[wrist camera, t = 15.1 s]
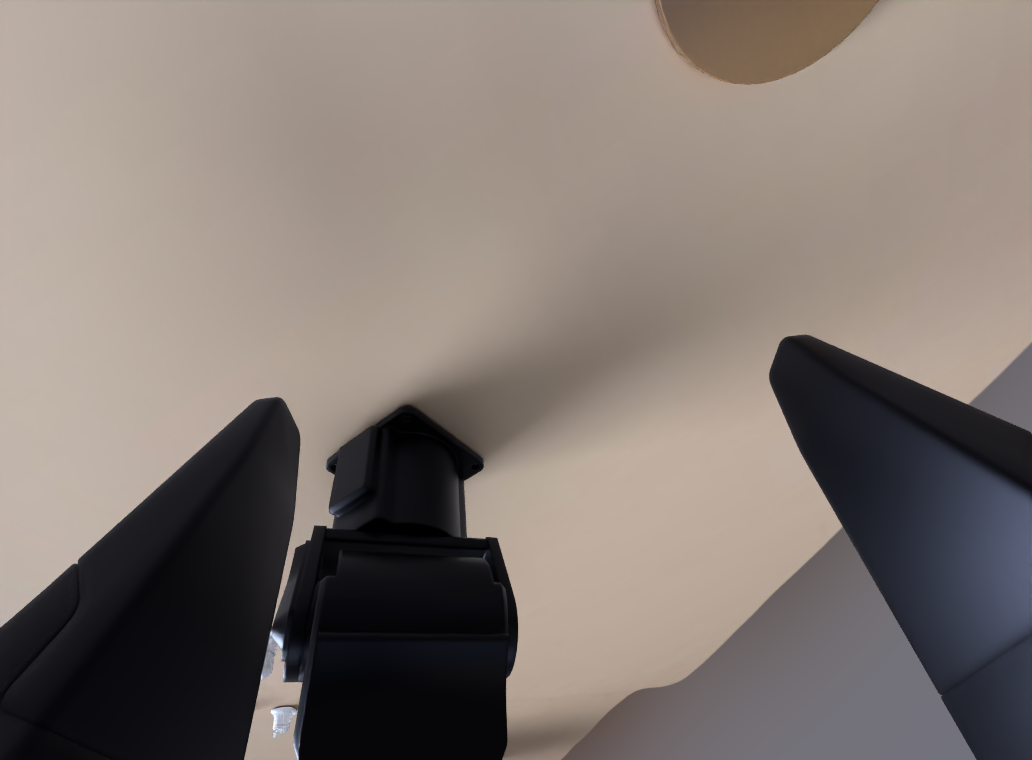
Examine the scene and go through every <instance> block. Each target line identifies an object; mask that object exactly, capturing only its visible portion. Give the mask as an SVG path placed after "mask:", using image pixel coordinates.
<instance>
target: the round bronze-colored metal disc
mask: <svg viewBox="0 0 1032 760" xmlns="http://www.w3.org/2000/svg"><path fill="white" fill-rule="evenodd" d="M878 1H879V0H655V2H656V6H657V10H658V13H659V16H660V19H661V21H662V24H663V27H664V29H665V31H666V33H667V35H668V36H669V38H670V40H671V42H672V43H673V45H674V46H675V47H676V49H677V50H678V51H679V53H680V54H681V55H682V56H683V57H684V58H685V59H686V60H687V61H688V62H689V63H690V64H691V65H692V66H694V67H695V68H697V69H698V70H700V71H701V72H703V73H705V74H707V75H709V76H712V77H714V78H716V79H719V80H721V81H725V82H730V83H734V84H759V83H766V82H770V81H774V80H778V79H781V78H783V77H786V76H789V75H791V74H794V73H796V72H798V71H800V70H802V69H804V68H806V67H807V66H809V65H811V64H813V63H814V62H816V61H817V60H819V59H820V58H822V57H823V56H825V55H826V54H827V53H829V52H830V51H831V50H832V49H834V48H835V47H836V46H837V45H838V44H840V43H841V42H842V41H843V40H844V39H845V38H846V37H847V36H848V35H849V34H850V33H851V32H852V31H853V30H854V29H855V28H856V27H857V26H858V25H859V24H860V23H861V22H862V21H863V19H864V18H865V17H866V16H867V15H868V14H869V13H870V11H871V10H872V9H873V7H874V6H875V5H876V3H877V2H878Z"/></svg>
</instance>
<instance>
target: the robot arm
mask: <svg viewBox="0 0 1032 760" xmlns="http://www.w3.org/2000/svg"><path fill="white" fill-rule="evenodd" d="M769 380H770V384H771V386H772V389H773V391H774V393H775V396H776V398H777V400H778V403H779V405H780V407H781V409H782V412H783V414H784V416H785V419H786V421H787V423H788V426H789V428H790V430H791V433H792V435H793V437H794V439H795V442H796V444H797V446H798V448H799V450H800V452H801V454H802V456H803V458H804V460H805V461H806V463H807V465H808V467H809V468H810V470H811V472H812V474H813V475H814V477H815V479H816V481H817V482H818V484H819V486H820V488H821V489H822V491H823V493H824V495H825V496H826V498H827V500H828V501H829V503H830V505H831V507H832V508H833V510H834V512H835V514H836V515H837V517H838V519H839V521H840V522H841V524H842V526H843V528H844V529H845V531H846V533H847V534H848V536H849V538H850V540H851V541H852V543H853V545H854V547H855V548H856V550H857V552H858V554H859V555H860V557H861V559H862V561H863V562H864V564H865V566H866V567H867V569H868V571H869V573H870V575H871V576H872V578H873V580H874V581H875V583H876V585H877V587H878V588H879V590H880V592H881V594H882V595H883V597H884V599H885V601H886V602H887V604H888V606H889V607H890V609H891V611H892V613H893V615H894V616H895V618H896V620H897V621H898V623H899V625H900V627H901V628H902V630H903V632H904V633H905V635H906V637H907V639H908V641H909V642H910V644H911V646H912V648H913V649H914V651H915V653H916V654H917V656H918V658H919V659H920V661H921V663H922V665H923V666H924V668H925V670H926V672H927V673H928V675H929V677H930V679H931V681H932V682H933V684H934V685H935V687H936V689H937V691H938V693H939V694H940V695H942V696H941V698H942V700H943V702H944V704H945V705H946V707H947V709H948V711H949V713H950V714H951V716H952V718H953V719H954V721H955V723H956V725H957V726H958V728H959V730H960V732H961V733H962V735H963V737H964V739H965V740H966V742H967V744H968V746H969V747H970V749H971V751H972V752H973V754H974V756H975V758H976V759H977V760H1032V434H1031V433H1030V432H1029V431H1027V430H1025V429H1022V428H1020V427H1018V426H1016V425H1013V424H1011V423H1009V422H1006V421H1004V420H1002V419H1000V418H997V417H995V416H993V415H990V414H988V413H986V412H983V411H981V410H979V409H977V408H974V407H972V406H970V405H968V404H965V403H963V402H961V401H958V400H956V399H954V398H952V397H949V396H947V395H945V394H942V393H940V392H938V391H936V390H933V389H931V388H929V387H926V386H924V385H922V384H920V383H917V382H915V381H913V380H910V379H908V378H906V377H904V376H901V375H899V374H897V373H894V372H892V371H890V370H888V369H885V368H883V367H881V366H878V365H876V364H874V363H872V362H869V361H867V360H865V359H862V358H860V357H858V356H856V355H853V354H851V353H849V352H846V351H844V350H842V349H840V348H837V347H835V346H833V345H830V344H828V343H826V342H824V341H821V340H819V339H817V338H814V337H812V336H810V335H796V336H788V337H785V338H784V339H783V340H782V341H781V342H780V344H779V347H778V349H777V352H776V355H775V358H774V360H773V363H772V366H771V369H770V373H769ZM404 415H410V416H404ZM299 452H300V434H299V430H298V428H297V425H296V423H295V421H294V419H293V417H292V415H291V413H290V411H289V409H288V407H287V405H286V403H285V401H284V400H283V399H281V398H279V397H274V398H265V399H259V400H256V401H254V402H253V403H252V404H250V405H249V406H248V407H247V408H246V409H245V410H244V411H243V412H242V413H240V414H239V415H238V416H237V417H236V418H235V419H234V420H233V421H232V422H230V423H229V424H228V425H227V426H226V427H225V428H224V429H223V430H222V431H220V432H219V433H218V434H217V435H216V436H215V437H214V438H213V439H212V440H210V441H209V442H208V443H207V444H206V445H205V446H204V447H203V448H202V449H200V450H199V451H198V452H197V453H196V454H195V455H194V456H193V457H192V458H190V459H189V460H188V461H187V462H186V463H185V464H184V465H183V466H182V467H180V468H179V469H178V470H177V471H176V472H175V473H174V474H173V475H172V476H170V477H169V478H168V479H167V480H166V481H165V482H164V483H163V484H162V485H160V486H159V487H158V488H157V489H156V490H155V491H154V492H153V493H152V494H151V495H149V496H148V497H147V498H146V499H145V500H144V501H143V502H142V503H141V504H139V505H138V506H137V507H136V508H135V509H134V510H133V511H132V512H131V513H129V514H128V515H127V516H126V517H125V518H124V519H123V520H122V521H121V522H119V523H118V524H117V525H116V526H115V527H114V528H113V529H112V530H110V531H109V532H108V533H107V534H106V535H105V536H104V537H103V538H102V539H100V540H99V541H98V542H97V543H96V544H95V545H94V546H93V547H92V548H90V549H89V550H88V551H87V552H86V553H85V554H84V555H83V556H82V557H80V558H79V560H78V564H73V565H71V566H70V567H69V568H68V569H67V570H66V571H65V572H64V573H63V574H61V575H60V576H59V577H58V578H57V579H56V580H55V581H54V582H53V583H51V584H50V585H49V586H48V587H47V588H46V589H45V590H43V591H42V592H41V593H40V594H39V595H38V596H37V597H35V598H34V599H33V600H32V601H31V602H30V603H29V604H27V605H26V606H25V607H24V608H23V609H22V610H21V611H19V612H18V613H17V614H16V615H15V616H14V617H13V618H11V619H10V620H9V621H8V622H7V623H5V624H4V625H3V626H2V627H1V628H0V760H244V757H245V752H246V747H247V742H248V738H249V733H250V728H251V723H252V718H253V714H254V709H255V704H256V699H257V694H258V690H259V685H260V680H261V675H262V670H263V666H264V661H265V656H266V651H267V646H268V642H269V637H270V632H271V627H272V622H273V618H274V613H275V608H276V603H277V598H278V594H279V589H280V584H281V579H282V574H283V570H284V565H285V560H286V555H287V550H288V546H289V541H290V536H291V531H292V526H293V520H294V511H295V501H296V489H297V477H298V464H299ZM334 464H336V465H334ZM483 467H484V464H483V459H482V458H481V457H480V456H478V455H477V454H476V453H474V452H473V451H472V450H470V449H469V448H468V447H466V446H465V445H464V444H462V443H461V442H460V441H458V440H457V439H455V438H454V437H453V436H451V435H450V434H449V433H447V432H446V431H445V430H443V429H442V428H441V427H439V426H438V425H437V424H435V423H434V422H432V421H431V420H430V419H428V418H427V417H426V416H424V415H423V414H422V413H420V412H419V411H418V410H416V409H415V408H413V407H411V406H404V407H401V408H400V409H398V410H397V411H395V412H394V413H393V414H391V415H390V416H388V417H387V418H385V419H384V420H382V421H381V422H380V423H378V424H377V425H375V426H372V427H370V428H368V429H367V430H365V431H364V432H363V433H361V434H360V435H358V436H357V437H355V438H354V439H353V440H351V441H350V442H348V443H347V444H345V445H344V446H343V447H341V448H340V451H338V452H337V453H335V454H334V455H332V456H331V457H330V458H328V460H327V464H326V469H327V470H328V471H329V472H331V473H333V474H334V475H335V477H334V482H333V487H332V493H331V498H330V503H329V513H331V514H333V515H335V516H334V522H333V528H332V529H329V528H327V526H314V529H313V533H312V537H311V541H309V540H306V543H305V544H303V545H301V546H299V547H297V548H296V549H295V553H294V558H293V562H292V566H291V570H290V575H289V578H288V582H287V585H286V588H285V591H284V594H283V597H282V600H281V602H280V605H279V608H278V611H277V614H276V617H275V620H274V623H273V628H272V633H271V637H272V638H273V639H274V641H275V642H276V643H277V645H278V646H279V647H280V649H281V650H282V654H281V661H285V666H284V673H283V682H303V684H302V689H301V695H300V701H299V707H298V713H297V719H296V725H295V731H294V740H293V744H294V749H295V752H296V755H297V758H298V760H502V758H503V755H504V753H505V750H506V747H507V715H506V678H507V677H508V676H509V675H510V673H511V671H512V669H513V666H514V662H515V657H516V652H517V643H518V616H517V607H516V602H515V598H514V594H513V591H512V587H511V584H510V580H509V577H508V573H507V570H506V567H505V563H504V560H503V556H502V553H501V549H500V546H499V542H498V539H497V538H492V537H486V538H485V539H480V538H467V532H466V513H465V495H464V481H465V480H466V479H468V478H470V477H471V476H473V475H475V474H476V473H478V472H480V471H481V470H482V469H483Z"/></svg>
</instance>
